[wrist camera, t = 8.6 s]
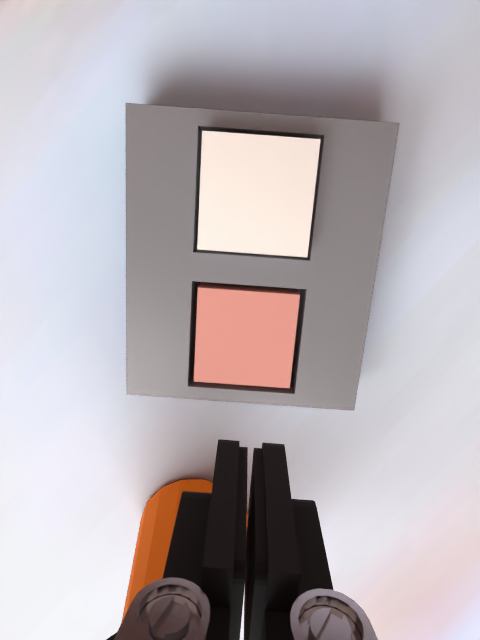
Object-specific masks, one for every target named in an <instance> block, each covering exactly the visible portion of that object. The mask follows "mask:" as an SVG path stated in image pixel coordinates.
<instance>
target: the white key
mask: <svg viewBox="0 0 480 640" xmlns="http://www.w3.org/2000/svg"><path fill="white" fill-rule="evenodd" d="M320 140H321V139H310V138H297V137H283V136H269V135H256V134H242V133H228V132H214V131H202V148H201V171H200V195H199V219H198V243H197V249H198V250H212V251H225V252H239V253H253V254H267V255H281V256H295V257H307V256H308V247H309V238H310V229H311V220H312V212H313V203H314V194H315V185H316V176H317V167H318V158H319V149H320Z"/></svg>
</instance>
